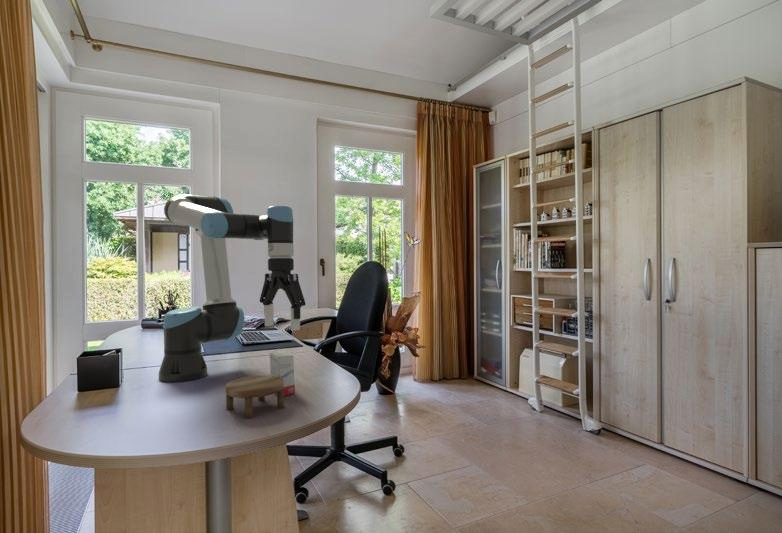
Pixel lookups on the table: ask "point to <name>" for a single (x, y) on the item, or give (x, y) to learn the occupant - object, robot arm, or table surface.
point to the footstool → (254, 391)
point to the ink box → (283, 369)
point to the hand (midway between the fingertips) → (281, 328)
